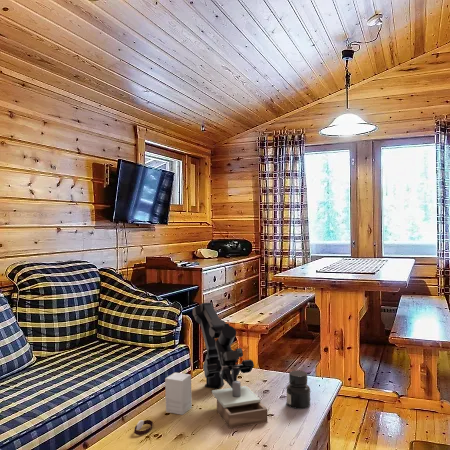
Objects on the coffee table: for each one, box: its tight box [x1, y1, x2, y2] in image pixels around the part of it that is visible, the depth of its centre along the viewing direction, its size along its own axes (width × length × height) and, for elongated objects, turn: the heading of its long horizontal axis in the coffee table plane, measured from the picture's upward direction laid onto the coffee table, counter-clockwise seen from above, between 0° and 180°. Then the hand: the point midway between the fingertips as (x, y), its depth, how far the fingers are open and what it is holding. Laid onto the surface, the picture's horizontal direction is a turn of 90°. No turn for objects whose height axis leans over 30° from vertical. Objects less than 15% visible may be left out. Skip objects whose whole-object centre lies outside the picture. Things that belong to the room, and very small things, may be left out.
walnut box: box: [216, 399, 269, 429], centre depth 162 cm, size 14×14×4 cm
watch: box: [133, 419, 154, 436], centre depth 153 cm, size 8×5×4 cm, turn 150°
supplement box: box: [164, 372, 193, 416], centre depth 169 cm, size 7×7×13 cm
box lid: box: [211, 380, 262, 408], centre depth 168 cm, size 14×14×6 cm
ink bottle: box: [286, 370, 311, 410], centre depth 172 cm, size 10×9×12 cm
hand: (234, 389), depth 169 cm, fingers closed
